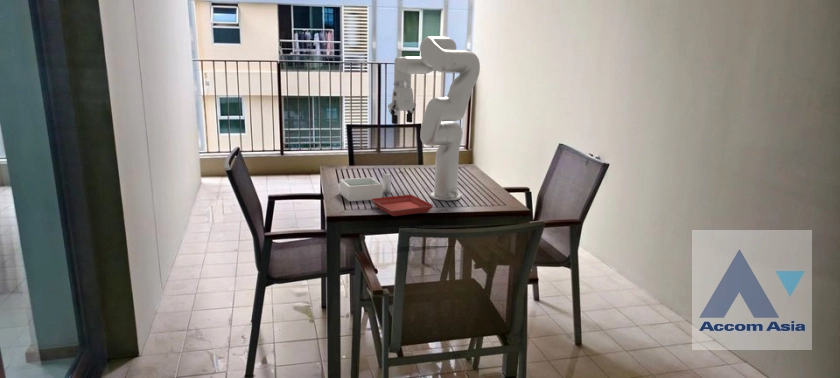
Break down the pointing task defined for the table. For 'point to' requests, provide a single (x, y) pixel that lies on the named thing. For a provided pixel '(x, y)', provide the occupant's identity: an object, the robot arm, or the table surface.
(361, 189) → the walled box
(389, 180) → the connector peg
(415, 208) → the plant saucer
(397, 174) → the table surface
